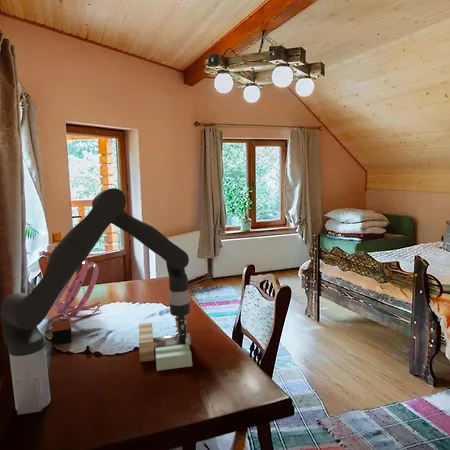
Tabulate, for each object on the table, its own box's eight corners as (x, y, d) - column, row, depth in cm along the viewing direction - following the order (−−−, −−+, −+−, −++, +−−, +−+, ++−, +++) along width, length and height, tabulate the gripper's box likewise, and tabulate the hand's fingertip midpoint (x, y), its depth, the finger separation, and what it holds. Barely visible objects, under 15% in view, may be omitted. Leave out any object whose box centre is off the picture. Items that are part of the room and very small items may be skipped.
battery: (71, 342, 156) (69, 318, 155) (53, 345, 154) (50, 321, 153) (72, 338, 161) (70, 314, 159) (54, 340, 159) (52, 317, 157)
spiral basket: (115, 263, 204) (66, 240, 191) (122, 290, 180) (67, 265, 166) (86, 306, 207) (35, 286, 193) (89, 338, 182) (32, 317, 169)
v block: (192, 366, 134) (191, 354, 133) (156, 370, 132) (156, 359, 131) (188, 352, 144) (188, 342, 143) (155, 357, 141) (155, 346, 141)
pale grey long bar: (189, 342, 152) (189, 331, 152) (191, 347, 148) (190, 335, 147) (153, 347, 149) (152, 336, 149) (153, 352, 145) (152, 340, 145)
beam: (154, 359, 139) (153, 341, 138) (140, 361, 138) (138, 343, 137) (153, 339, 157) (152, 322, 156) (140, 340, 156) (139, 323, 155)
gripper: (168, 296, 153) (170, 337, 156) (171, 308, 139) (173, 353, 142) (187, 294, 155) (189, 335, 157) (192, 306, 141) (194, 351, 143)
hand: (182, 343), depth 149 cm, fingers closed on pale grey long bar, 4 cm apart
